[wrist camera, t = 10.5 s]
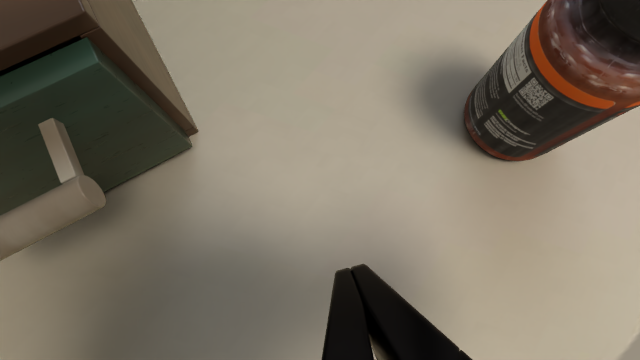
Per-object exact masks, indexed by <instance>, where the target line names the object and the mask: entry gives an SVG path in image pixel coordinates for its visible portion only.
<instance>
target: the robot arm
mask: <svg viewBox="0 0 640 360" xmlns="http://www.w3.org/2000/svg"><path fill="white" fill-rule="evenodd" d="M371 346H372V347H371ZM372 349H373V351H374V354H375V356H376V358H377V360H472V359H471V358H470V357H469V356H468V355H467V354H465V353H464V352H463V351H462V350H460V351H459V347H457V346H456V345H455V344H454V343H453V342H452V341H451V340H450V339H448V338H447V337H446V336H445V335H444V334H443V333H442V332H441V331H439V330H438V329H437V328H436V327H435V326H434V325H433V324H432V323H431V322H429V321H428V320H427V319H426V318H425V317H424V316H423V315H422V314H420V313H419V312H418V311H417V310H416V309H415V308H414V307H413V306H411V305H410V304H409V303H408V302H407V301H406V300H405V299H404V298H402V297H401V296H400V295H399V294H398V293H397V292H396V291H395V290H393V289H392V288H391V287H390V286H389V285H388V284H387V283H386V282H385V281H383V280H382V279H381V278H380V277H379V276H378V275H377V274H376V273H374V272H373V271H372V270H371V269H370V268H369V267H368V266H367V265H365V264H360V265H357V266H353V267H351V270H350V269H349V268H346V269H342V270H338V271H336V273H335V278H334V284H333V290H332V297H331V303H330V310H329V316H328V322H327V329H326V335H325V341H324V348H323V354H322V360H374V358H373V352H372Z"/></svg>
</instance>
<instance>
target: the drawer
mask: <svg viewBox="0 0 640 360" xmlns="http://www.w3.org/2000/svg"><path fill="white" fill-rule="evenodd" d="M190 147H192V144H191V142H190V140H189V138H188V136H187V134H186V132H185V130H184V129H183V128H181V127H180V126H179V125H178V124H177V123H176V122H175V121H174V120H173V119H172V118H171V117H170V116H169V115H168V114H167V113H166V112H165V111H164V110H163V109H162V108H161V107H160V106H159V105H157V104H156V103H155V102H154V101H153V100H152V99H151V98H150V97H149V96H148V95H147V94H146V93H145V92H144V91H143V90H142V89H141V88H140V87H139V86H138V85H137V84H136V83H135V82H134V81H132V80H131V79H130V78H129V77H128V76H127V75H126V74H125V73H124V72H123V71H122V70H121V69H120V68H119V67H118V66H117V65H116V64H115V63H114V62H113V61H112V60H111V59H110V58H108V57H107V56H106V55H105V54H104V53H103V52H102V51H101V50H100V49H99V48H98V47H97V46H96V45H95V44H94V43H93V42H92V41H91V40H90V39H89V38H87V37H86V38H84V39H82V38H81V37H80V35H79V36H77V37H75V38H73V39H71V40H68V41H66V42H64V43H62V44H60V45H57V46H55V47H53V48H51V49H49V50H46V51H44V52H42V53H40V54H38V55H35V56H33V57H31V58H29V59H26V60H24V61H22V62H20V63H18V64H15V65H13V66H11V67H9V68H7V69H4V70H2V71H0V261H1V260H3V259H5V258H7V257H8V256H10V255H12V254H14V253H16V252H18V251H20V250H22V249H24V248H26V247H28V246H30V245H32V244H33V243H35V242H37V241H39V240H41V239H43V238H45V237H47V236H49V235H51V234H53V233H55V232H57V231H59V230H60V229H62V228H64V227H66V226H68V225H70V224H72V223H74V222H76V221H78V220H80V219H82V218H84V217H85V216H87V215H89V214H91V213H93V212H95V211H97V210H99V209H101V208H103V207H104V206H105V204H106V198H105V195H104V193H103V192H104V191H106V190H108V189H110V188H112V187H114V186H116V185H118V184H120V183H122V182H124V181H126V180H128V179H130V178H132V177H134V176H136V175H138V174H139V173H141V172H143V171H145V170H147V169H149V168H151V167H153V166H155V165H157V164H159V163H161V162H163V161H165V160H167V159H169V158H171V157H173V156H175V155H176V154H178V153H180V152H182V151H184V150H186V149H188V148H190Z"/></svg>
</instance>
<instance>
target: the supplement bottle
mask: <svg viewBox="0 0 640 360" xmlns="http://www.w3.org/2000/svg"><path fill="white" fill-rule="evenodd" d="M638 106H640V0H547V2H546V3H545V4H544V5H543V6H542V8H541V9H540V10H539V11H538V12H537V13H536V14H535V16H534V17H533V18H532V19H531V20H530V22H529V23H528V24H527V25H526V26H525V28H524V29H523V30H522V31H521V32H520V34H519V35H518V36H517V37H516V38H515V39H514V41H513V42H512V43H511V44H510V46H509V47H508V48H507V49H506V50H505V52H504V53H503V54H502V55H501V56H500V58H499V59H498V60H497V61H496V62H495V63H494V65H493V66H492V67H491V68H490V69H489V71H488V72H487V73H486V74H485V75H484V77H483V78H482V79H481V80H480V81H479V83H478V84H477V85H476V86H475V88H474V89H473V90H472V92H471V93H470V95H469V96H468V99H467V101H466V105H465V111H464V113H465V116H464V117H465V123H466V126H467V129H468V131H469V133H470V135H471V137H472V138H473V139H474V141H475V142H476V143H477V144H478V145H479V146H480V147H481V148H482V149H484V150H485V151H487V152H488V153H490V154H491V155H493V156H496V157H498V158H501V159H505V160H512V161H523V160H530V159H533V158H536V157H538V156H540V155H543V154H545V153H547V152H549V151H551V150H553V149H555V148H557V147H559V146H561V145H563V144H565V143H566V142H568V141H570V140H572V139H574V138H576V137H578V136H580V135H582V134H584V133H586V132H588V131H590V130H592V129H594V128H596V127H598V126H600V125H602V124H604V123H606V122H608V121H610V120H612V119H614V118H616V117H618V116H620V115H622V114H624V113H626V112H628V111H629V110H631V109H634V108H636V107H638Z"/></svg>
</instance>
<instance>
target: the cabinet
mask: <svg viewBox="0 0 640 360" xmlns="http://www.w3.org/2000/svg"><path fill="white" fill-rule="evenodd" d="M79 35H80V37H81V38H82V39H84V38H86V37H87V38H89V39H90V40H91V41H92V42H93V43H94V44H95V45H96V46H97V47H98V48H99V49H100V50H101V51H102V52H103V53H104V54H105V55H106V56H107V57H108V58H110V59H111V60H112V61H113V62H114V63H115V64H116V65H117V66H118V67H119V68H120V69H121V70H122V71H123V72H124V73H125V74H126V75H127V76H128V77H129V78H130V79H131V80H132V81H134V82H135V83H136V84H137V85H138V86H139V87H140V88H141V89H142V90H143V91H144V92H145V93H146V94H147V95H148V96H149V97H150V98H151V99H152V100H153V101H154V102H155V103H156V104H157V105H159V106H160V107H161V108H162V109H163V110H164V111H165V112H166V113H167V114H168V115H169V116H170V117H171V118H172V119H173V120H174V121H175V122H176V123H177V124H178V125H179V126H180V127H181V128H183V129H184V130H185V132H186V134H187V136H190V135H192V134H194V133H196V132H198V129H197V127H196V125H195V123H194V121H193V119H192V117H191V115H190V113H189V111H188V109H187V107H186V105H185V104H184V102H183V100H182V98H181V96H180V94H179V92H178V90H177V88H176V86H175V84H174V82H173V80H172V78H171V76H170V74H169V72H168V70H167V68H166V67H165V65H164V63H163V61H162V59H161V57H160V55H159V53H158V51H157V49H156V47H155V45H154V43H153V41H152V39H151V37H150V35H149V33H148V31H147V29H146V28H145V26H144V24H143V22H142V20H141V18H140V16H139V14H138V12H137V10H136V8H135V6H134V4H133V2H132V0H0V71H2V70H4V69H7V68H9V67H11V66H13V65H15V64H18V63H20V62H22V61H24V60H26V59H29V58H31V57H33V56H35V55H38V54H40V53H42V52H44V51H46V50H49V49H51V48H53V47H55V46H57V45H60V44H62V43H64V42H66V41H68V40H71V39H73V38H75V37H77V36H79Z"/></svg>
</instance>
